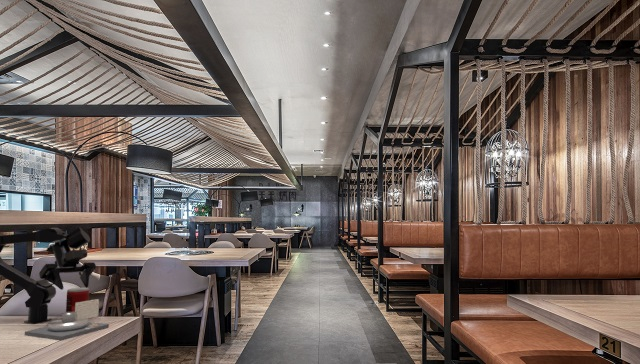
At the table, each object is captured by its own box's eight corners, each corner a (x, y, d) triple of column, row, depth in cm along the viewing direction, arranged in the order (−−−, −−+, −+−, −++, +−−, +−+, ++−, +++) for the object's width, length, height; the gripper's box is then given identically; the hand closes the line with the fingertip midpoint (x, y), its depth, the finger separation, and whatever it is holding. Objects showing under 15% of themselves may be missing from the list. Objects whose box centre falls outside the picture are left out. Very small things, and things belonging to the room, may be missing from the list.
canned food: (92, 314, 174) (93, 287, 176) (79, 318, 167) (80, 290, 168) (74, 314, 175) (76, 287, 176) (61, 318, 167) (62, 290, 168)
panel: (24, 335, 142) (24, 330, 142) (74, 323, 159) (75, 319, 159) (61, 340, 135) (61, 335, 136) (109, 327, 152) (109, 323, 152)
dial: (59, 332, 139) (61, 308, 140) (40, 328, 145) (42, 305, 146) (106, 322, 153) (107, 300, 154) (87, 319, 159) (88, 297, 160)
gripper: (47, 241, 154) (59, 276, 147) (96, 242, 170) (109, 273, 163) (34, 261, 158) (44, 295, 151) (83, 259, 174) (95, 290, 167)
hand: (75, 288), depth 158 cm, fingers open, 9 cm apart
